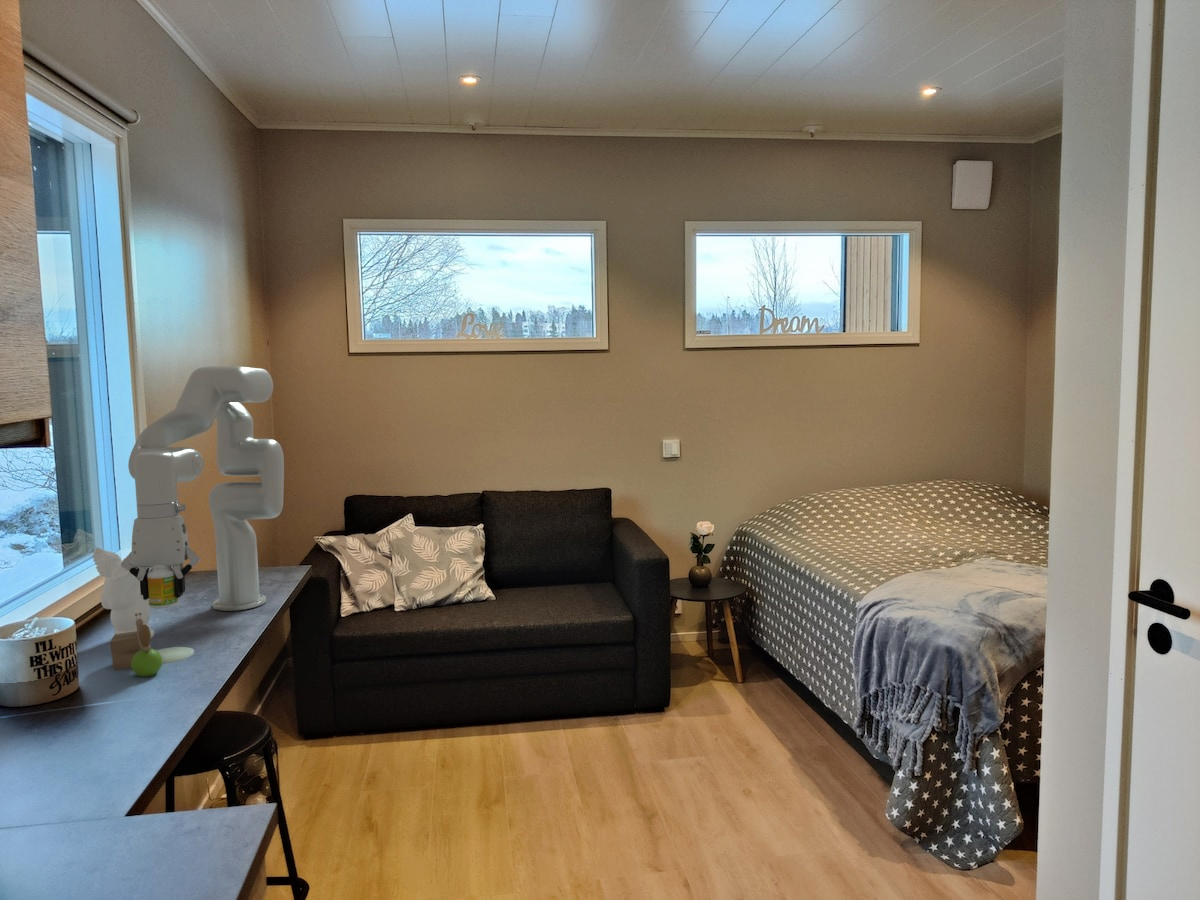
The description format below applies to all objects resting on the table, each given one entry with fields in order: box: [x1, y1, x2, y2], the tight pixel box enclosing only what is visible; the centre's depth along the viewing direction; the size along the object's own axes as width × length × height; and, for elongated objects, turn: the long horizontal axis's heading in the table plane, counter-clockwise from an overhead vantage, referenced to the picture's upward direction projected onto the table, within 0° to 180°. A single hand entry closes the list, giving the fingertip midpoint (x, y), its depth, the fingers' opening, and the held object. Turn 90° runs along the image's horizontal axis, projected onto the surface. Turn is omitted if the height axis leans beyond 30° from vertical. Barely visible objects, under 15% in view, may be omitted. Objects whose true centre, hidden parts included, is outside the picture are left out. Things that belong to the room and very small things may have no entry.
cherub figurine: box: [91, 546, 155, 641], centre depth 183 cm, size 12×12×22 cm
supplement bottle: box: [147, 565, 179, 609], centre depth 173 cm, size 5×5×10 cm
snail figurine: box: [130, 613, 163, 678], centre depth 164 cm, size 5×6×12 cm
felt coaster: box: [155, 646, 195, 665], centre depth 175 cm, size 10×10×1 cm
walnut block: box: [109, 631, 142, 671], centre depth 169 cm, size 5×5×6 cm
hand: (163, 596), depth 173 cm, fingers closed on supplement bottle, 5 cm apart
